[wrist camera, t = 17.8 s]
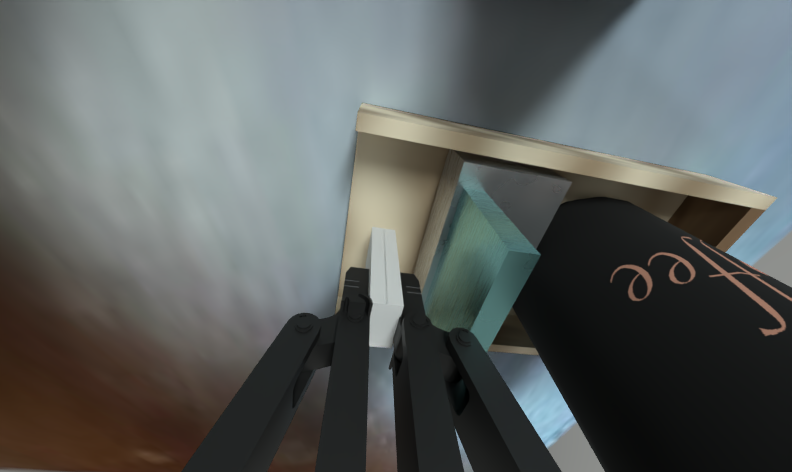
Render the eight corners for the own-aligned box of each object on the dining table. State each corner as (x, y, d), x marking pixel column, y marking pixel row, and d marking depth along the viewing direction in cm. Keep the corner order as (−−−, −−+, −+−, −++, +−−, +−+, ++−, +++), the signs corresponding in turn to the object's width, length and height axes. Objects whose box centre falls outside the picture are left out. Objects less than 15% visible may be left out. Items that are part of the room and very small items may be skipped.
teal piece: (404, 302, 23) (419, 421, 15) (449, 146, 16) (513, 214, 9) (474, 309, 24) (520, 426, 16) (541, 164, 17) (672, 240, 10)
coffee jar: (669, 215, 20) (1613, 690, 5) (574, 315, 25) (885, 706, 10) (549, 168, 18) (1667, 813, 2) (471, 289, 23) (666, 750, 7)
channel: (338, 298, 23) (330, 338, 20) (361, 102, 16) (357, 112, 12) (589, 324, 27) (620, 361, 23) (706, 174, 19) (777, 197, 16)
